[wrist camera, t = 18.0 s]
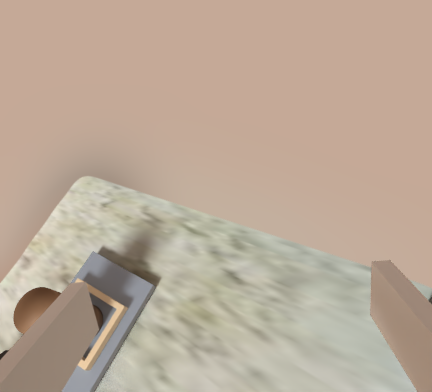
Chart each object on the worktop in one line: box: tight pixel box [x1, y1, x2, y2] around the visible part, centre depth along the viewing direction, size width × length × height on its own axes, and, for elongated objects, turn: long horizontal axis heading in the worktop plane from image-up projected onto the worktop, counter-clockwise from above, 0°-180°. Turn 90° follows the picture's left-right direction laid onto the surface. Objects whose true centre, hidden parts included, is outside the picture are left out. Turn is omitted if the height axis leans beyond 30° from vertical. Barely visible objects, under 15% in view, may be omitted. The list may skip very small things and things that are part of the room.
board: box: [62, 251, 156, 392], centre depth 45 cm, size 12×18×3 cm, turn 152°
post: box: [14, 287, 103, 335], centre depth 40 cm, size 5×5×12 cm
